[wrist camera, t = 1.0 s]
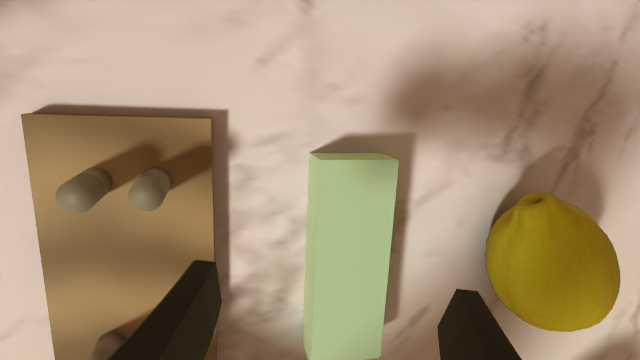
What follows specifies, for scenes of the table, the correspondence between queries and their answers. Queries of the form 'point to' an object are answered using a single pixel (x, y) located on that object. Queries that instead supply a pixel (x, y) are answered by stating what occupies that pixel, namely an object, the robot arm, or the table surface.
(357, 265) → the shelf board
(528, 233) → the lemon
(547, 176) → the table surface
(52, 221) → the peg base
